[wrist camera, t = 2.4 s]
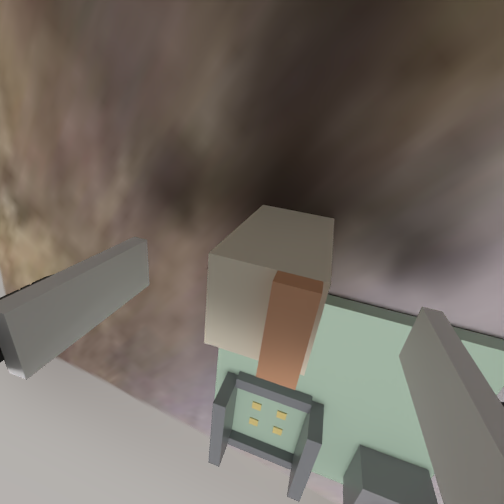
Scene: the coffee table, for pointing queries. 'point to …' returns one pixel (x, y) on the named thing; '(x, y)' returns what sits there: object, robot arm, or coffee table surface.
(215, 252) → the plug
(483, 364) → the board
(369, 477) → the fan
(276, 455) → the header
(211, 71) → the coffee table surface
